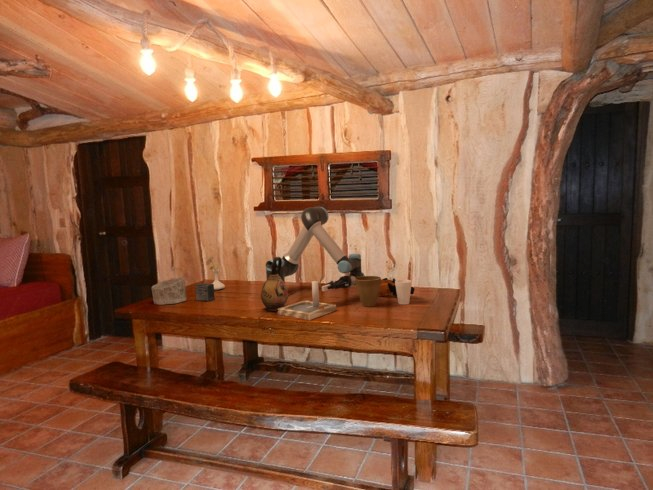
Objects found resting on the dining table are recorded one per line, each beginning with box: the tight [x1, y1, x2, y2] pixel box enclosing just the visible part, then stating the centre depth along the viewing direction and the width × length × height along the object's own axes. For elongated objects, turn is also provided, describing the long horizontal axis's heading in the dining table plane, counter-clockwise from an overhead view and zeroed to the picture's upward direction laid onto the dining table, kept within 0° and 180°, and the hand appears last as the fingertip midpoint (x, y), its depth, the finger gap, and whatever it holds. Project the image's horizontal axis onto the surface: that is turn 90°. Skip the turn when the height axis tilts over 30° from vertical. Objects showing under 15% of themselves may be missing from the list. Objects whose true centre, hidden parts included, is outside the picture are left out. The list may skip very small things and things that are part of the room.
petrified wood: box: [150, 277, 187, 306], centre depth 283 cm, size 19×17×15 cm
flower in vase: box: [205, 255, 226, 291], centre depth 317 cm, size 13×11×25 cm
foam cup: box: [395, 279, 413, 305], centre depth 258 cm, size 10×9×13 cm
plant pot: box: [355, 275, 382, 308], centre depth 256 cm, size 15×15×16 cm
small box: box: [194, 282, 215, 302], centre depth 285 cm, size 11×6×10 cm, turn 65°
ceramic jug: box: [260, 256, 289, 312], centre depth 256 cm, size 17×15×30 cm
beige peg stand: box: [293, 280, 320, 313], centre depth 246 cm, size 16×16×16 cm
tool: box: [378, 277, 415, 298], centre depth 273 cm, size 8×23×15 cm, turn 58°
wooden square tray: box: [277, 299, 337, 321], centre depth 246 cm, size 23×23×5 cm
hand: (322, 288), depth 253 cm, fingers closed
